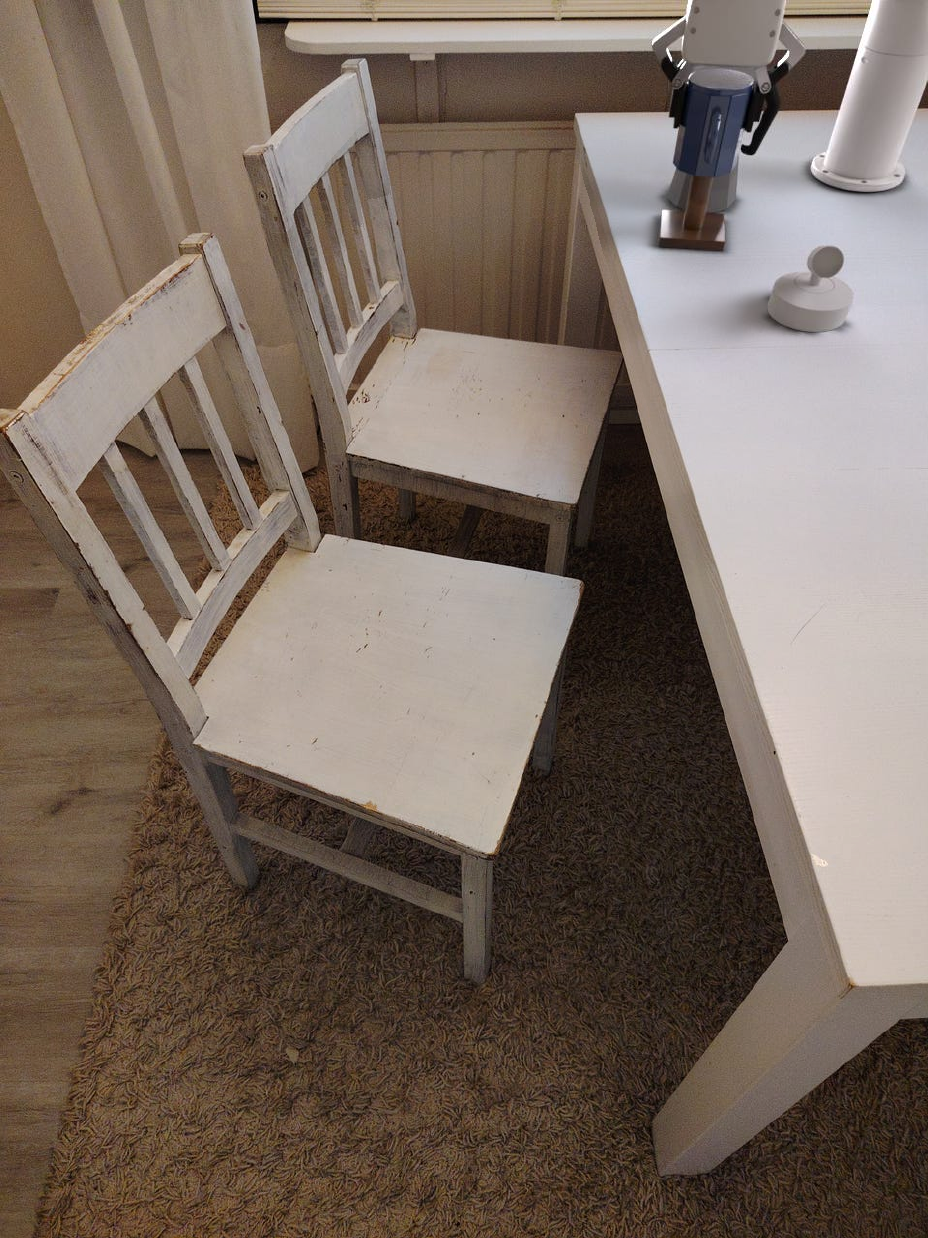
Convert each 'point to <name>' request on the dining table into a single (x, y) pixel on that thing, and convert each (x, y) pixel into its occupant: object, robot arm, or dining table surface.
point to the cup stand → (694, 221)
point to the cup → (712, 122)
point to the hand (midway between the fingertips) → (711, 125)
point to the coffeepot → (726, 184)
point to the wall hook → (813, 294)
